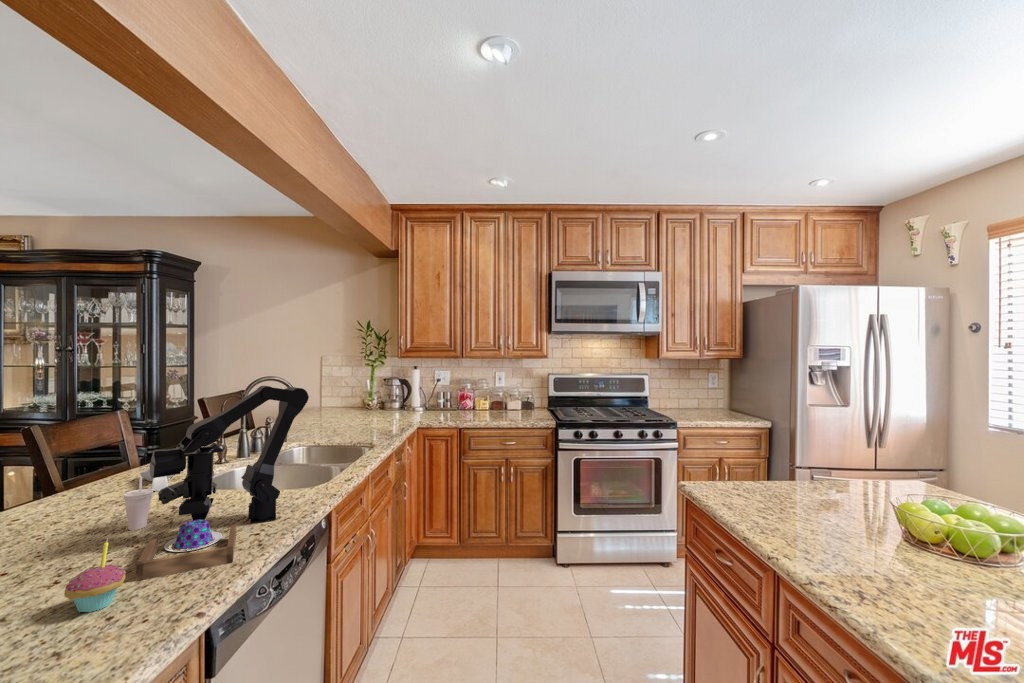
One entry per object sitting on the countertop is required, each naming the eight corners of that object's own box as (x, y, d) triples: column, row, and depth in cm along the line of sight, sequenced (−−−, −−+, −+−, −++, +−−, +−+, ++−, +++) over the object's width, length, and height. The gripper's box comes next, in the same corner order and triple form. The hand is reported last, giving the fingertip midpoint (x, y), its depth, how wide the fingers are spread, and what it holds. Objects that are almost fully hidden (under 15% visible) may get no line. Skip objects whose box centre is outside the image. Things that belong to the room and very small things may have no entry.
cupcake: (91, 594, 88) (93, 533, 88) (136, 593, 88) (139, 533, 89) (50, 620, 79) (52, 553, 79) (100, 619, 80) (103, 552, 80)
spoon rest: (139, 478, 165) (140, 459, 165) (178, 473, 173) (179, 455, 173) (138, 495, 147) (139, 473, 147) (182, 489, 154) (182, 468, 155)
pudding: (191, 557, 104) (191, 535, 105) (151, 551, 107) (151, 529, 107) (233, 536, 116) (233, 516, 116) (196, 532, 119) (196, 512, 119)
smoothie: (134, 533, 116) (136, 480, 117) (115, 531, 118) (117, 478, 118) (158, 524, 123) (160, 474, 123) (139, 522, 124) (141, 472, 124)
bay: (235, 538, 115) (236, 524, 115) (232, 562, 101) (233, 547, 102) (150, 552, 106) (151, 537, 106) (135, 581, 93) (135, 564, 93)
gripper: (169, 465, 121) (167, 522, 120) (153, 484, 105) (150, 550, 104) (217, 461, 126) (215, 516, 126) (210, 478, 110) (207, 541, 110)
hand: (197, 529), depth 116 cm, fingers closed
